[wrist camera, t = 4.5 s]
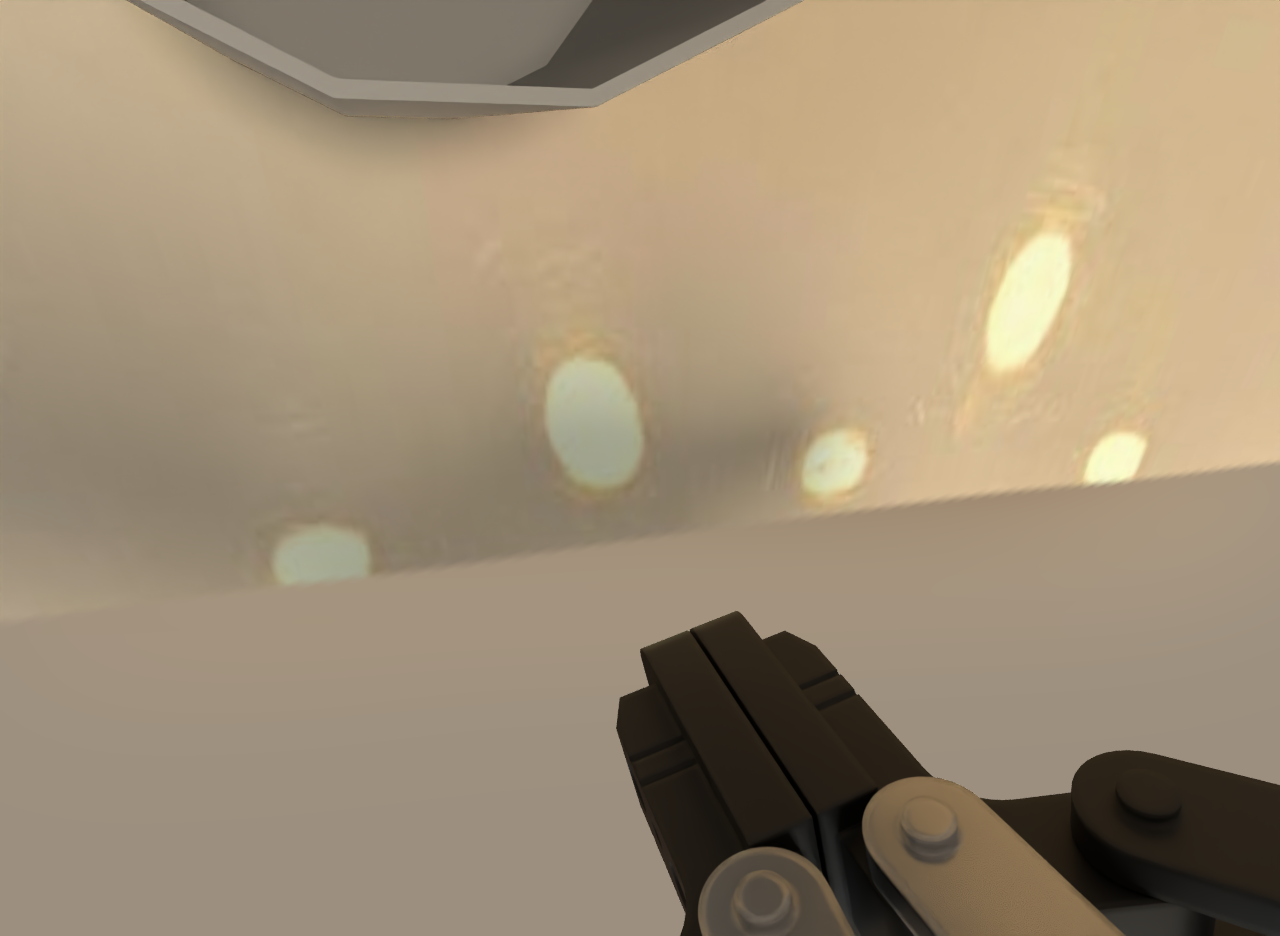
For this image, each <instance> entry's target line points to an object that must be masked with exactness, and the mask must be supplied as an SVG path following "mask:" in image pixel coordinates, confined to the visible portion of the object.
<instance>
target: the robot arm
mask: <svg viewBox="0 0 1280 936" xmlns="http://www.w3.org/2000/svg"><path fill="white" fill-rule="evenodd" d="M640 653H641V658H642V662H643V665H644V669H645V673H646V676H647V680H648V683H649V686H648V687H646V688H643V689H640V690H638V691H635V692H633V693H630V694H628V695H625V696H623V697H621V698H620V701H619V709H618V719H617V727H616V729H617V732H618V735H619V739H620V742H621V745H622V748H623V751H624V754H625V758H626V761H627V764H628V767H629V770H630V773H631V776H632V780H633V783H634V786H635V789H636V793H637V796H638V799H639V802H640V805H641V808H642V810H643V813H644V815H645V817H646V820H647V822H648V824H649V827H650V829H651V832H652V834H653V836H654V838H655V841H656V844H657V846H658V849H659V851H660V853H661V856H662V858H663V861H664V862H665V865H666V868H667V870H668V873H669V875H670V877H671V880H672V882H673V885H674V887H675V889H676V891H677V894H678V897H679V899H680V901H681V904H682V906H683V909H684V911H685V913H686V915H685V921H684V926H683V929H682V932H681V935H680V936H1280V785H1277V784H1273V783H1269V782H1265V781H1261V780H1257V779H1253V778H1249V777H1245V776H1241V775H1237V774H1233V773H1229V772H1225V771H1221V770H1217V769H1213V768H1209V767H1205V766H1201V765H1197V764H1193V763H1188V762H1185V761H1181V760H1177V759H1173V758H1169V757H1164V756H1161V755H1157V754H1152V753H1147V752H1142V751H1130V750H1125V751H1113V752H1107V753H1103V754H1100V755H1097V756H1095V757H1093V758H1091V759H1089V760H1087V761H1086V762H1085V763H1084V764H1083V765H1081V766H1080V768H1079V769H1078V770H1077V772H1076V773H1075V775H1074V778H1073V781H1072V789H1071V793H1064V794H1056V795H1048V796H1039V797H1031V798H1023V799H1014V800H990V799H984V798H979V797H978V796H976V795H975V794H974V793H973V792H971V791H970V790H968V789H966V788H964V787H962V786H961V785H958V784H956V783H954V782H951V781H948V780H944V779H940V778H934V777H933V776H931V775H930V774H929V773H928V772H927V771H926V770H925V769H924V768H923V767H922V766H921V764H920V763H919V762H918V761H917V760H916V759H915V758H914V757H913V755H912V754H911V753H910V752H909V751H908V750H907V749H906V747H905V746H904V745H903V744H902V743H901V742H900V741H899V739H897V737H896V736H895V735H894V734H893V733H892V732H891V730H890V729H889V728H888V727H887V726H886V725H885V724H884V722H883V721H882V720H881V719H880V718H879V717H878V716H877V715H876V713H875V712H874V711H873V710H872V709H871V708H870V707H869V706H868V704H867V703H866V702H865V701H864V700H863V699H862V698H861V697H860V695H857V694H856V693H855V691H854V689H853V687H852V686H851V685H850V684H849V683H848V682H847V681H846V680H845V678H844V677H843V676H842V675H839V674H838V672H837V669H836V668H835V667H834V666H833V665H832V664H831V662H830V661H829V660H828V659H827V658H826V657H825V656H824V655H823V654H822V652H821V651H820V650H819V649H818V648H817V647H816V646H815V645H813V644H811V643H809V642H807V641H805V640H803V639H801V638H799V637H797V636H795V635H793V634H790V633H788V632H786V631H783V632H780V633H778V634H775V635H773V636H771V637H768V638H766V639H763V640H762V639H761V638H760V636H759V635H758V634H757V633H756V632H755V630H754V629H753V627H752V626H751V625H750V624H749V622H748V621H747V620H746V619H745V617H744V616H743V615H742V614H741V613H740V612H738V611H735V612H732V613H730V614H728V615H725V616H722V617H720V618H717V619H715V620H712V621H710V622H707V623H705V624H702V625H700V626H697V627H695V628H692V629H690V632H689V631H685V632H682V633H680V634H678V635H675V636H672V637H670V638H667V639H665V640H662V641H660V642H657V643H655V644H652V645H650V646H647V647H644V648H642V649H640Z"/></svg>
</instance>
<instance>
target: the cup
mask: <svg viewBox="0 0 1280 936" xmlns="http://www.w3.org/2000/svg"><path fill="white" fill-rule="evenodd" d="M127 1H129V2H131V3H132V4H134V5H136V6H138V7H140V8H141V9H143V10H145V11H147V12H148V13H150V14H152V15H154V16H156V17H157V18H159V19H161V20H163V21H165V22H166V23H168V24H170V25H172V26H173V27H175V28H177V29H179V30H181V31H182V32H184V33H186V34H188V35H189V36H191V37H193V38H195V39H197V40H198V41H200V42H202V43H204V44H206V45H207V46H209V47H211V48H213V49H214V50H216V51H218V52H220V53H222V54H223V55H225V56H227V57H229V58H230V59H232V60H234V61H236V62H238V63H240V64H242V65H244V66H246V67H248V68H250V69H252V70H254V71H256V72H258V73H260V74H262V75H264V76H266V77H268V78H270V79H272V80H274V81H276V82H278V83H280V84H282V85H284V86H286V87H288V88H290V89H293V90H295V91H297V92H299V93H301V94H303V95H305V96H307V97H309V98H311V99H313V100H315V101H317V102H319V103H321V104H323V105H325V106H327V107H329V108H331V109H333V110H335V111H337V112H339V113H341V114H343V115H345V116H367V117H404V118H441V119H458V118H470V117H481V116H493V115H505V114H517V113H529V112H541V111H553V110H565V109H577V108H588V107H597V106H599V105H601V104H603V103H605V102H607V101H609V100H611V99H612V98H614V97H616V96H618V95H620V94H622V93H624V92H626V91H628V90H630V89H632V88H634V87H636V86H638V85H640V84H642V83H644V82H646V81H648V80H650V79H652V78H653V77H655V76H657V75H659V74H661V73H663V72H665V71H667V70H669V69H671V68H673V67H675V66H677V65H679V64H681V63H683V62H685V61H687V60H689V59H691V58H693V57H694V56H696V55H698V54H700V53H702V52H704V51H706V50H708V49H710V48H712V47H714V46H716V45H718V44H720V43H722V42H724V41H726V40H728V39H730V38H732V37H734V36H735V35H737V34H739V33H741V32H743V31H745V30H747V29H749V28H751V27H753V26H755V25H757V24H759V23H761V22H763V21H765V20H767V19H769V18H771V17H773V16H775V15H776V14H778V13H780V12H782V11H784V10H786V9H788V8H790V7H792V6H794V5H796V4H798V3H800V2H802V1H804V0H127Z"/></svg>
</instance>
